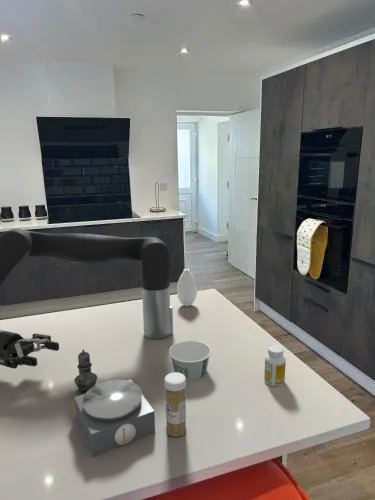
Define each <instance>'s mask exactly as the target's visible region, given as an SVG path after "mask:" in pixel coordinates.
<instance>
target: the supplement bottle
mask: <svg viewBox="0 0 375 500" xmlns="http://www.w3.org/2000/svg"><path fill="white" fill-rule="evenodd" d="M263 375H264V376H263V377H264V382H265V384H267V385H269V386H271V387H281V386H283V385H284V384H285V381H286V380H285V379H286V356H285V355H284V348H283V347H282V346H280V345H276V344H275V345H270V346H268V348H267V353H266V355H265V357H264V374H263Z"/></svg>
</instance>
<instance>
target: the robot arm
mask: <svg viewBox="0 0 375 500" xmlns="http://www.w3.org/2000/svg"><path fill="white" fill-rule="evenodd" d="M38 257H39V258H40V257H42V258H43V257H44V258H45V257H46V258H53V259H58V260H63V261H67V262H73V263H81V264H103V263H104V264H105V263H110V262H114V261H120V260H121V261H123V260H130V261H139V262H141V294H142V295H141V297H142V299H141V300H142V314H143V317H142V318H143V334H144V336H145V337H146V338H147V339H151V340H161V339H165V338H168V337H169V336H170V335H171V334H173V333H174V317H173V316H174V315H173V309H174V308H173V307H172V306H171V298H170V297H171V291H170V282H171V281H170V280H171V253H170V248H169V247H168V246H167V244H166V243H165V242H164V241H163V240H162V239H160V238H159V237H155V236H154V237H153V236H152V237H151V236H147V237H120V236H113V235H105V234H103V235H102V234H94V233H78V232H77V233H74V232H73V233H71V232H70V233H45V232H37V231H31V230H26V229H20V228H14V229H9V230H7V231H5V232H3V233H2V234H1V235H0V290H1V289H2V286H3V285H4V283H5V281H6V279H7V278H8V276H9V275H10V274H11V272H12V271H13V270H14V268H15V267H17V265H18V264H19V263H20V262H21V261H22V260H23V259H25V258H38ZM35 345H36V347H35ZM43 349H44V350H45V349H46V350H51V351H55V352H58V351H59V350H60V344H59V342H55V341H52V336H51V335H49V334H41V333H32V337H31V338H24V337H23V336H22V335H21V334H19V333H16V332H12V331H9V330H8V331H6V330H2V329H0V366H3V367H7V368H9V369H13V370H14V369H17V368H18V366H21V367H22V366H29V367H36V366H37V365H38V359H37V358H36V357H34V356H30V355H29V354H32V353H34V352H35V353H36V352H41V350H43Z"/></svg>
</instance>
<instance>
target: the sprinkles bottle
mask: <svg viewBox="0 0 375 500" xmlns="http://www.w3.org/2000/svg"><path fill="white" fill-rule="evenodd" d="M186 385H187V380H186V378H185V376H184V375H183V374H181V373H177V372H175V373H174V372H170V373H168V374H167V375H166V376H165V377H164V387H165V417H166V428H165V429H166V430H165V431H166V433H167V434H168V435H169V436H171V437H174V438H176V437H177V438H178V437H182V436H183V435H184V434H185V433H187V426H186V424H187V423H186V418H187V416H186V415H187V412H186V411H187V407H186V406H187V404H186V403H187V400H186V398H187V397H186Z"/></svg>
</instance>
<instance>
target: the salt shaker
mask: <svg viewBox="0 0 375 500" xmlns="http://www.w3.org/2000/svg"><path fill="white" fill-rule="evenodd" d="M90 359H91V358H90V353H89V352H87V351H85V349H82V350H81V352H79V354H78V356H77V362H78V365H77V366H76V367H77V369H78V375H76V376H75V378H74V379H73V381H74V384H75V386H76V387H77V389H76V392H75V393H76V395H77V396H80V395H83V394H86V392H87V391H88V390H89V389H90V388H92V387H93V386H95V385H97V384H96V383H97V380H98V375H97V373H94V372H92V366H93V364H92V363H91V360H90Z"/></svg>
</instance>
